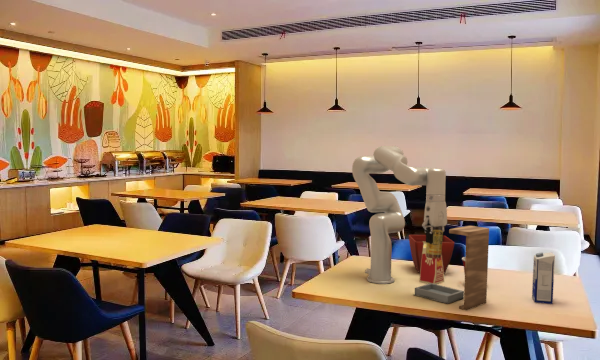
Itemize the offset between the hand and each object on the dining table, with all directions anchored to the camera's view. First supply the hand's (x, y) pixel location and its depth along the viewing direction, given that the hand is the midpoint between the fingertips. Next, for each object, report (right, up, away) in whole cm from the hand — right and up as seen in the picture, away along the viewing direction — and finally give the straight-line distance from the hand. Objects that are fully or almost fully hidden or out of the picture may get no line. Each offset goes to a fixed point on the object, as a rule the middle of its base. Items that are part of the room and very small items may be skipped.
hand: (434, 241), depth 214 cm
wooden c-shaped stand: (+11, -24, -6) cm, 27 cm away
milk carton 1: (+5, -22, +28) cm, 36 cm away
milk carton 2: (+44, -25, 0) cm, 51 cm away
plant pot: (+10, -21, +48) cm, 53 cm away
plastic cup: (+24, -23, +23) cm, 40 cm away
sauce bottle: (0, -7, 0) cm, 7 cm away
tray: (+3, -24, +3) cm, 24 cm away
